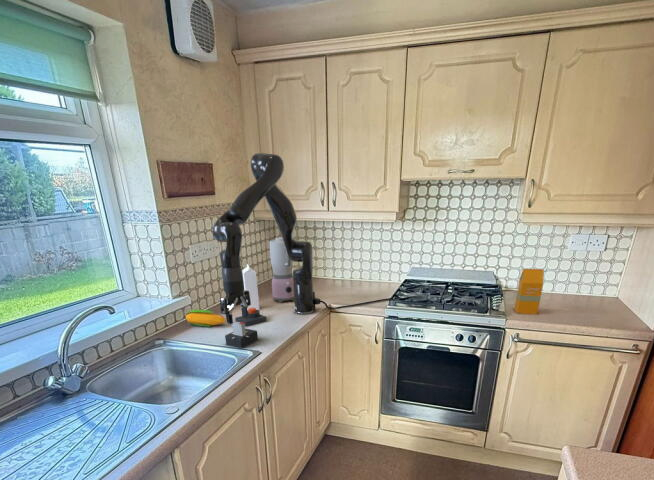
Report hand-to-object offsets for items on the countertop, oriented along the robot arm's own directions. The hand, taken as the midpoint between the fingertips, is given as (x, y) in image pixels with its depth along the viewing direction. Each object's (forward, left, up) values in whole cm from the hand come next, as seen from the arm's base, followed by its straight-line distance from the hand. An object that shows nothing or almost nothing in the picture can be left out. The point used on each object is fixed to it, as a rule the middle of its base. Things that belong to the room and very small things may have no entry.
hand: (237, 320), depth 157 cm
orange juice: (-121, +57, -10) cm, 134 cm away
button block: (-18, -22, -10) cm, 30 cm away
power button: (-20, -23, -6) cm, 31 cm away
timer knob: (0, 0, -6) cm, 6 cm away
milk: (-29, -39, -10) cm, 49 cm away
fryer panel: (-2, -2, -10) cm, 10 cm away
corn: (-1, -31, -10) cm, 32 cm away
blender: (-50, -40, -10) cm, 64 cm away
